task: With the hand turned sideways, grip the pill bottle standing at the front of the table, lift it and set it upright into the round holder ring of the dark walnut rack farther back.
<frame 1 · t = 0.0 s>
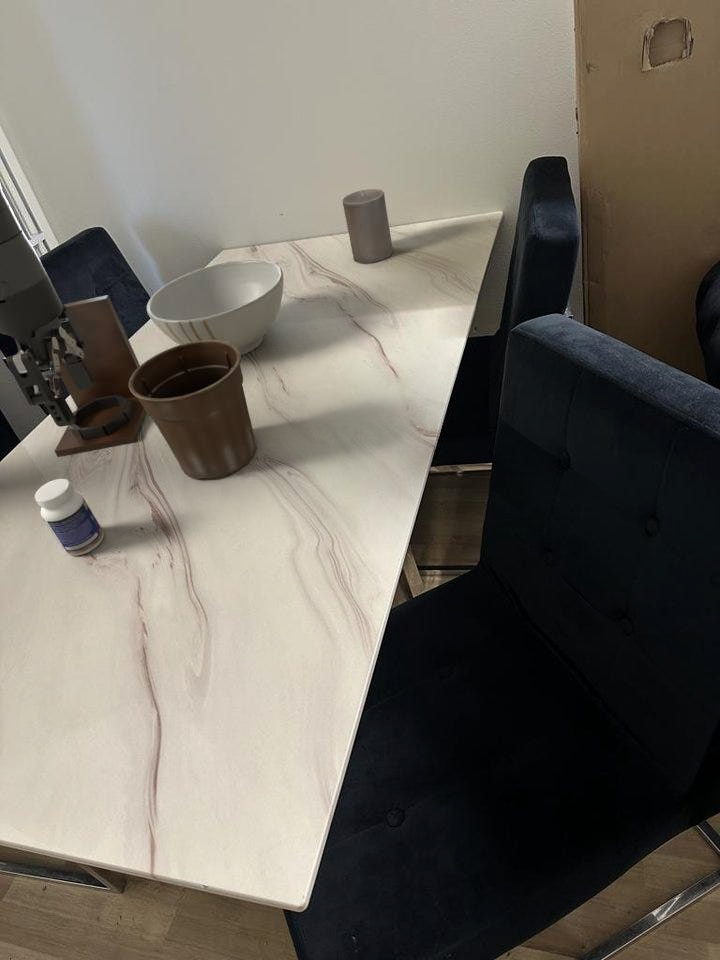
hand: (77, 405, 82), 20 cm above the table, tool pointing down, fingers open, 8 cm apart
rack: (106, 426, 118), on the table
plant pot: (221, 457, 104), on the table
pill bottle: (85, 543, 94), on the table
decorative bowl: (233, 345, 135), on the table
pillar candle: (373, 256, 158), on the table
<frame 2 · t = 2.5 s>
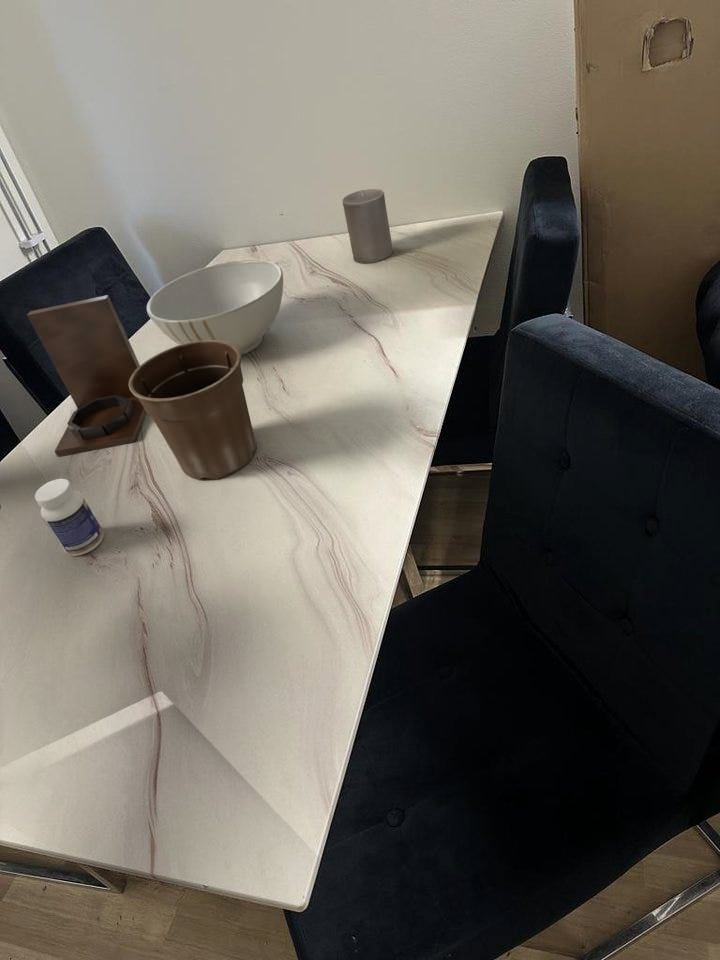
nothing on the table moved.
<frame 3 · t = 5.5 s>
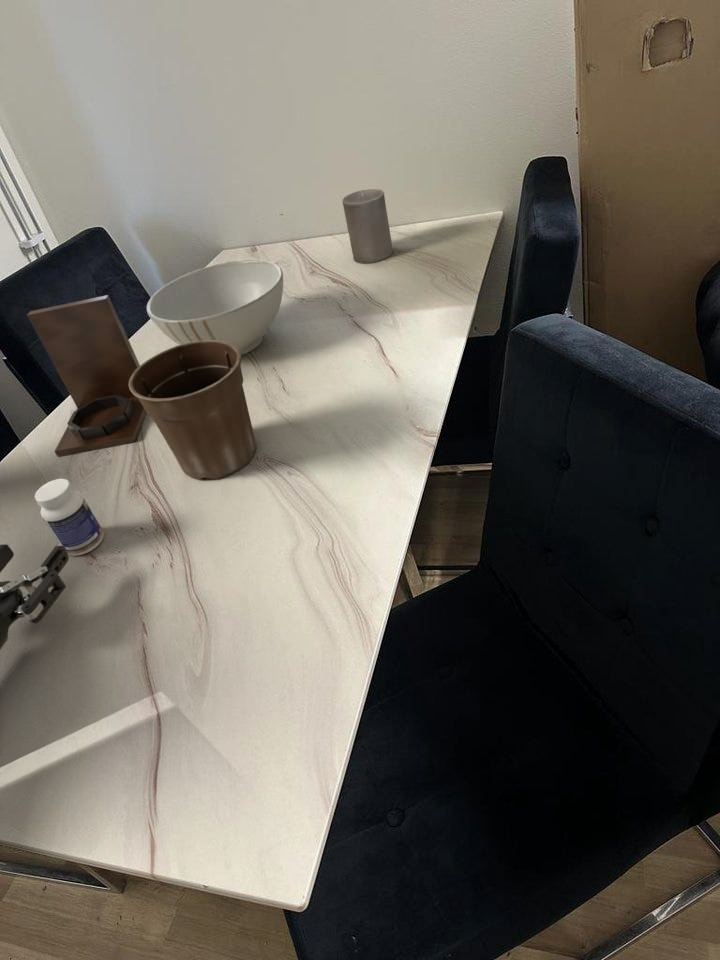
hand: (35, 549, 85), 6 cm above the table, tool horizontal, fingers open, 8 cm apart
nothing on the table moved.
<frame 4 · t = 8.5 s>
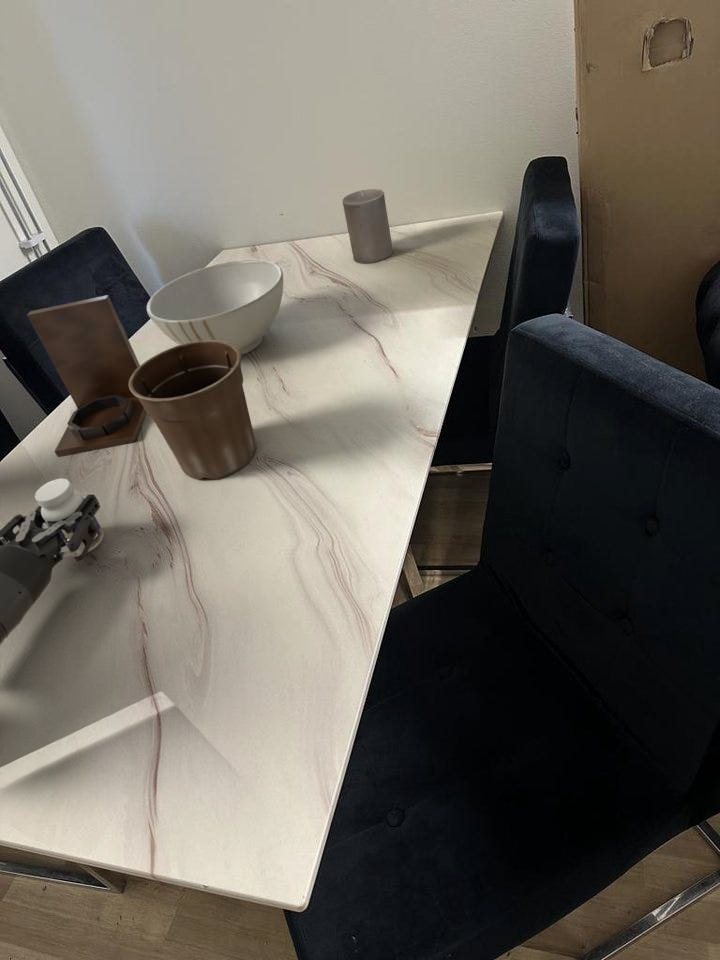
hand: (74, 499, 92), 6 cm above the table, tool horizontal, fingers closed on pill bottle, 5 cm apart
pill bottle: (85, 543, 94), on the table, touching gripper
everything else where it was.
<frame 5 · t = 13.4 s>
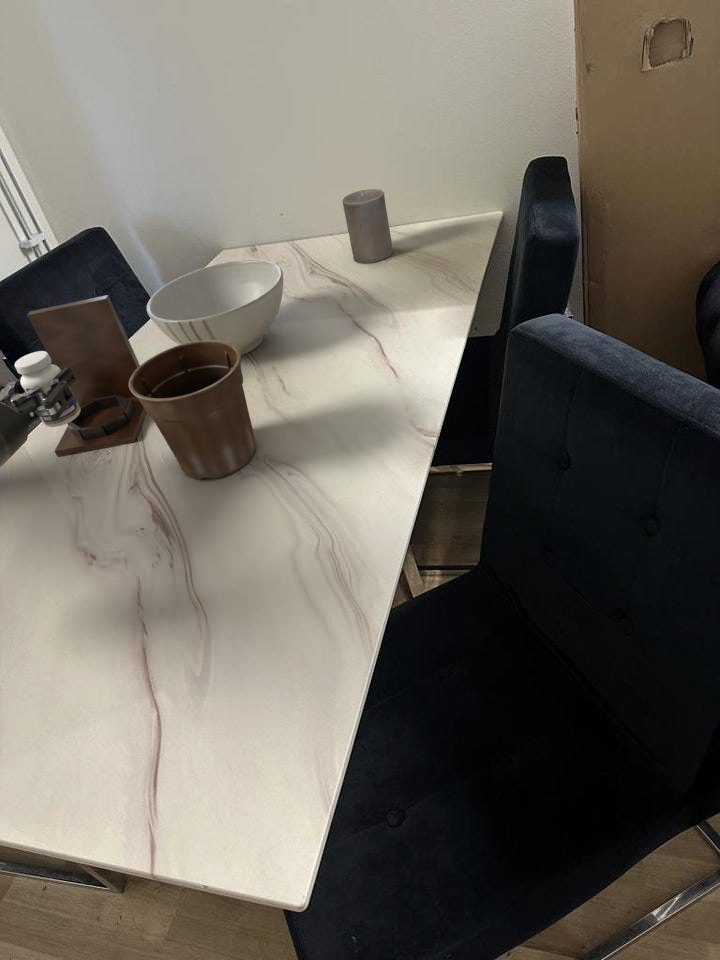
hand: (53, 373, 97), 18 cm above the table, tool horizontal, fingers closed on pill bottle, 5 cm apart
pill bottle: (63, 418, 99), point 11 cm above the table, touching gripper
everything else where it was.
when the fingers open (7 cm above the table, at t = 18.7 s): pill bottle stays where it is, resting on rack.
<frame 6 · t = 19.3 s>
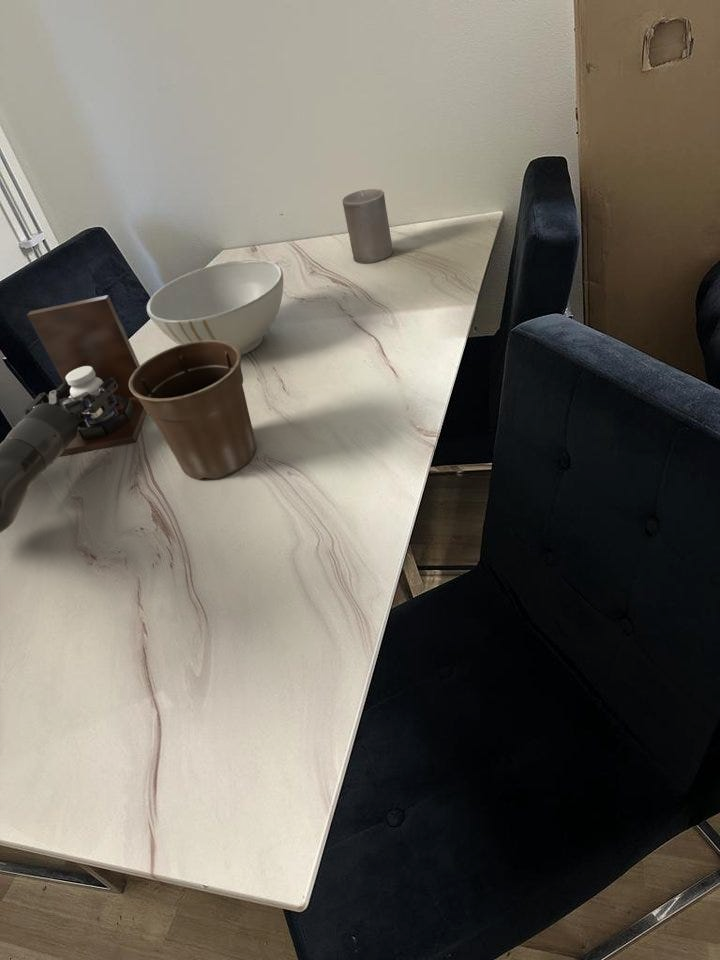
hand: (92, 382, 115), 8 cm above the table, tool horizontal, fingers open, 8 cm apart
pill bottle: (104, 422, 118), point 1 cm above the table, touching rack
everything else where it was.
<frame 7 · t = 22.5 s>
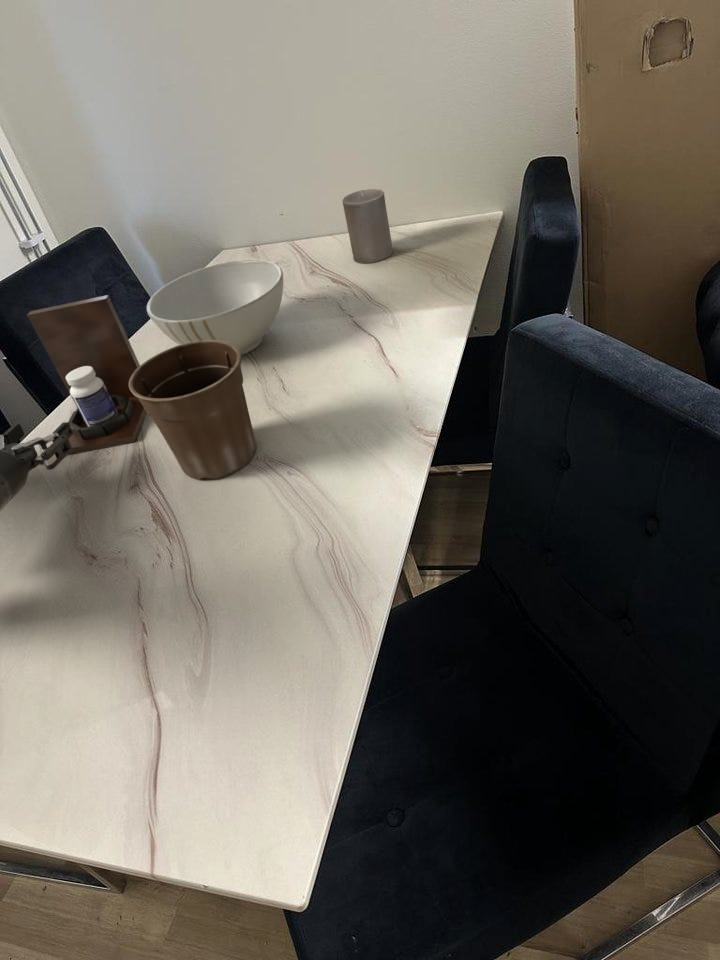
hand: (44, 428, 106), 8 cm above the table, tool horizontal, fingers open, 8 cm apart
nothing on the table moved.
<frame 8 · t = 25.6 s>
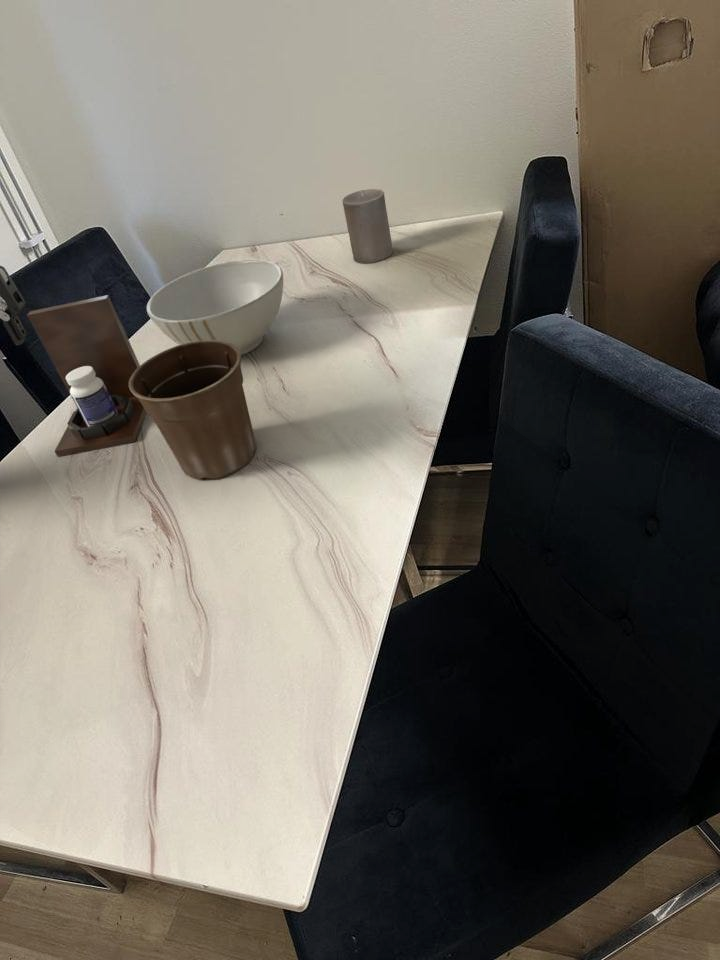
nothing on the table moved.
at the end: pill bottle 0.1 cm off-centre on the rack, point 1.0 cm above the rack's base; pill bottle tilted 0°; the gripper is holding nothing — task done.
